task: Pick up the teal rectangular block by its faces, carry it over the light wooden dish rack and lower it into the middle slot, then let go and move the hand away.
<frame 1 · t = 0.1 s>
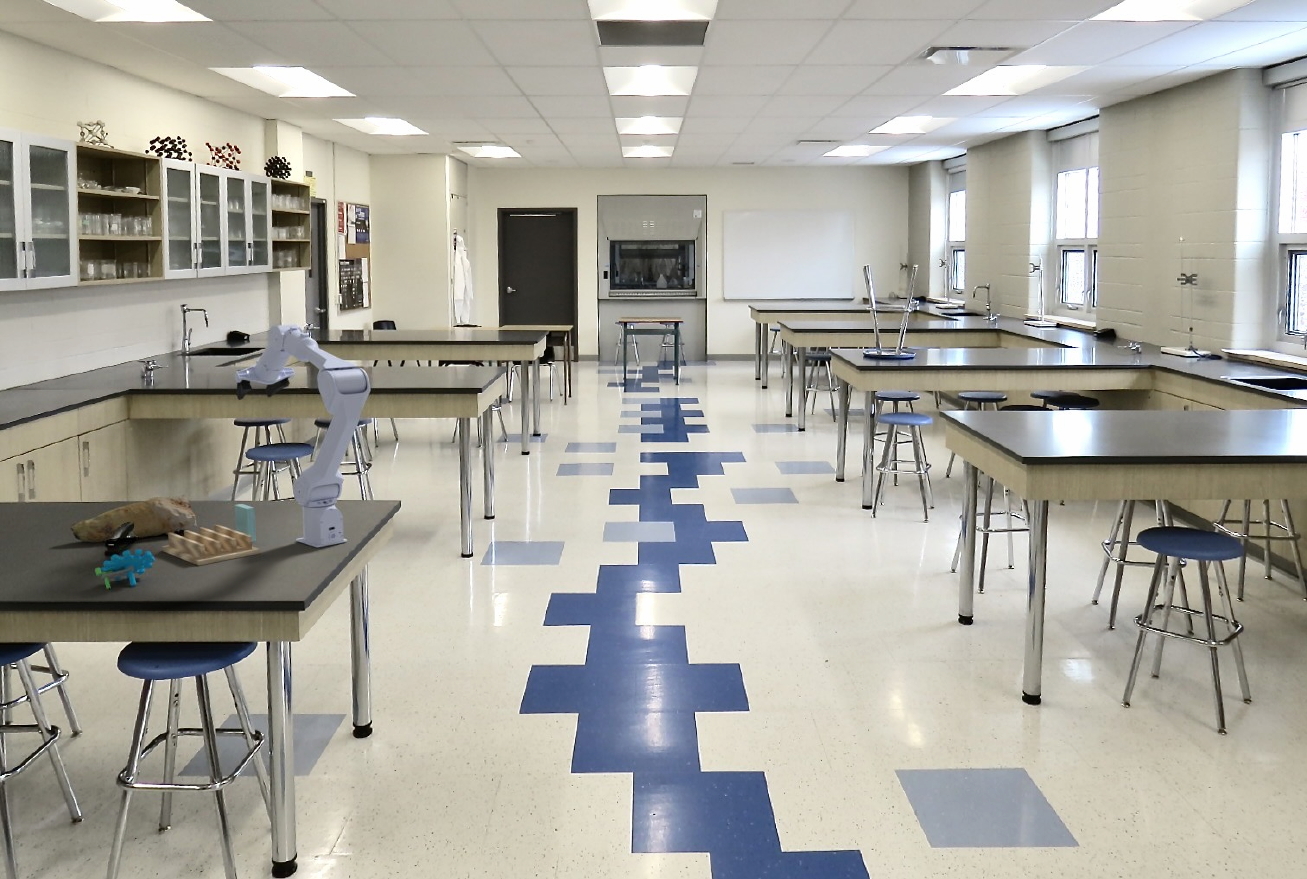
hand: (253, 395, 275), 32 cm above the table, tool tilted 50°, fingers open, 7 cm apart
toy stegosaurus: (126, 584, 227), on the table
teal rectangular block: (246, 539, 263), on the table
mineral: (134, 538, 265), on the table
rack: (210, 552, 251), on the table
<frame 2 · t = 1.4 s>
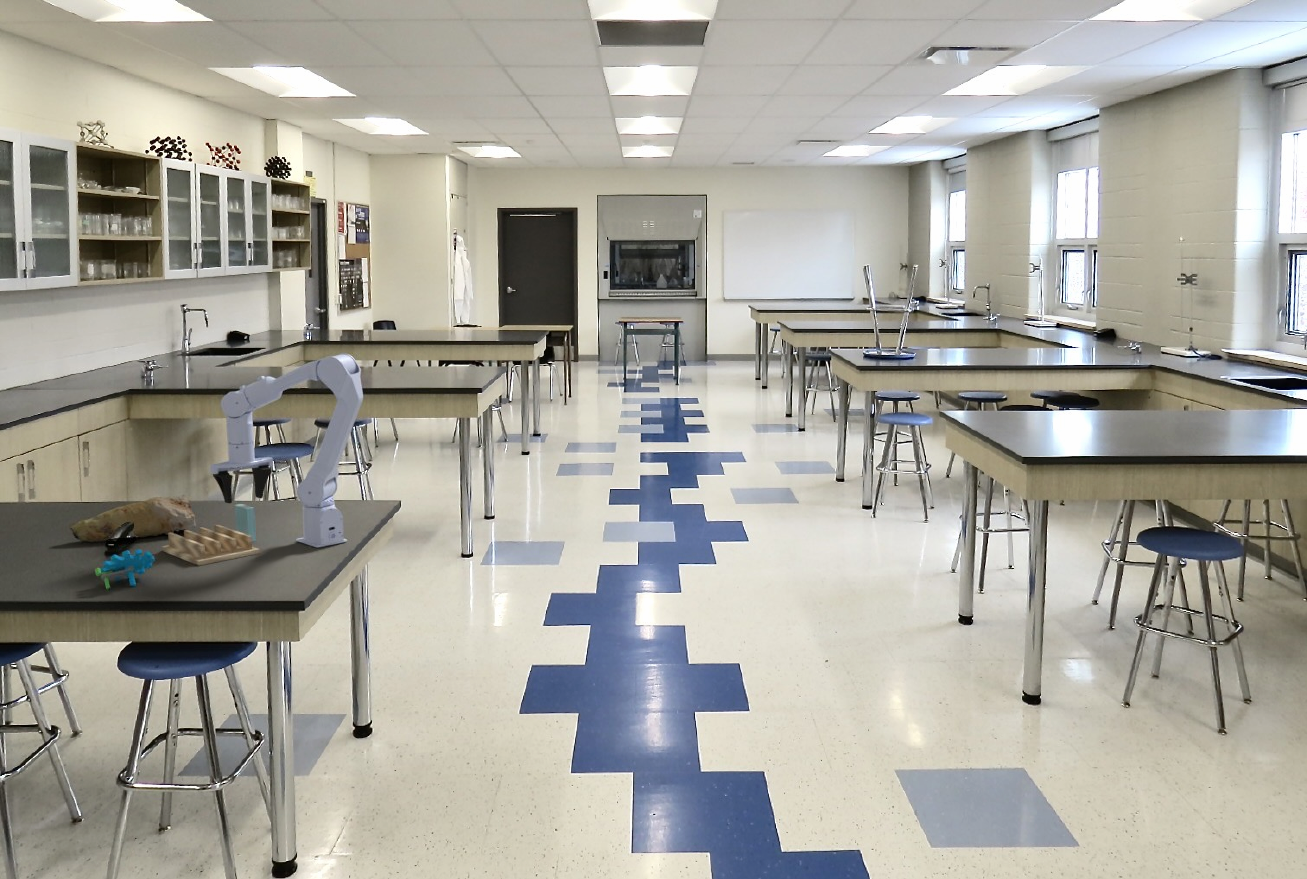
hand: (243, 500, 261), 9 cm above the table, tool pointing down, fingers open, 7 cm apart
nothing on the table moved.
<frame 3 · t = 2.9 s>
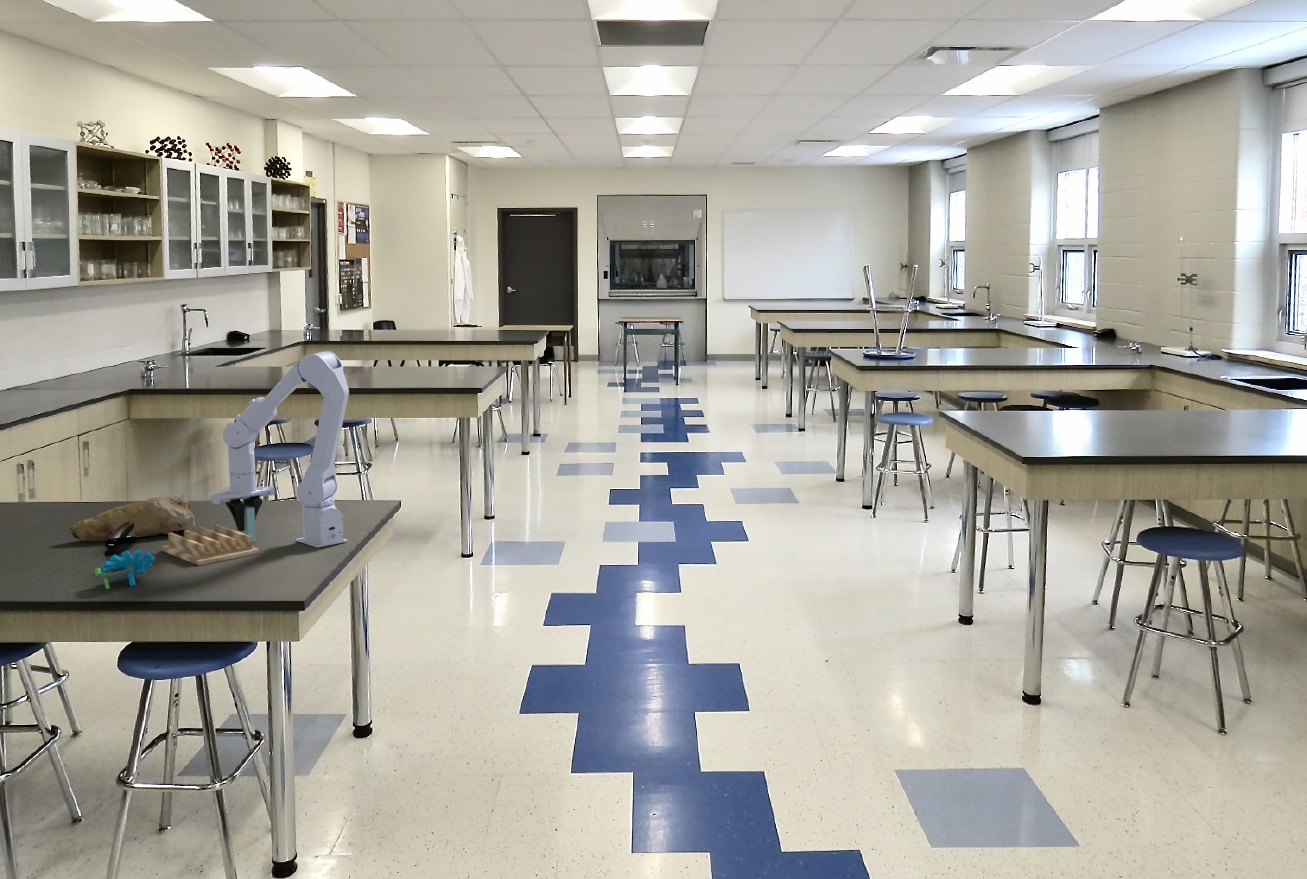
hand: (245, 529, 262), 2 cm above the table, tool pointing down, fingers closed on teal rectangular block, 2 cm apart
teal rectangular block: (246, 539, 263), on the table, touching gripper
everything else where it was.
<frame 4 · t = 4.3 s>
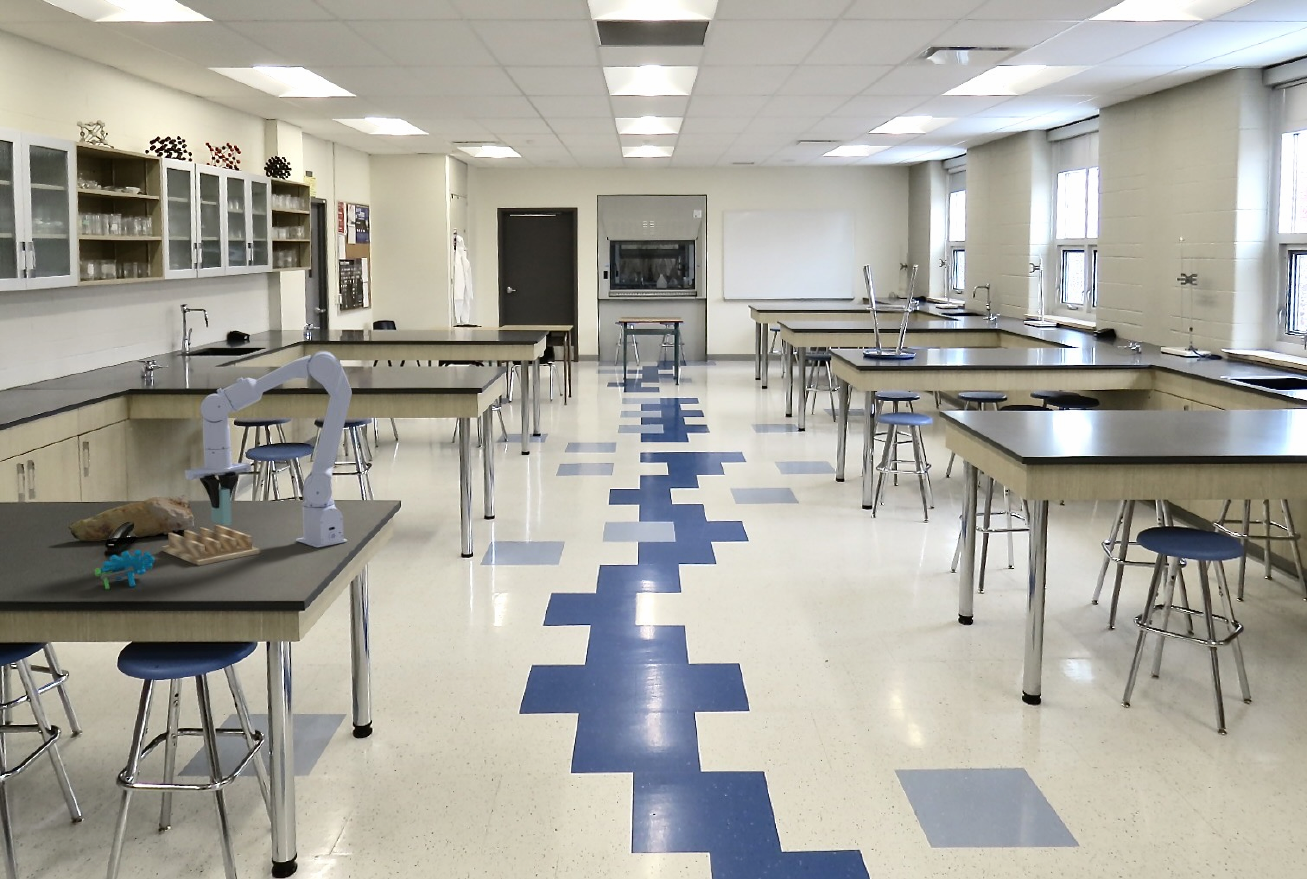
hand: (220, 506, 254), 9 cm above the table, tool pointing down, fingers closed on teal rectangular block
teal rectangular block: (221, 522, 254), point 6 cm above the table, touching gripper
everything else where it was.
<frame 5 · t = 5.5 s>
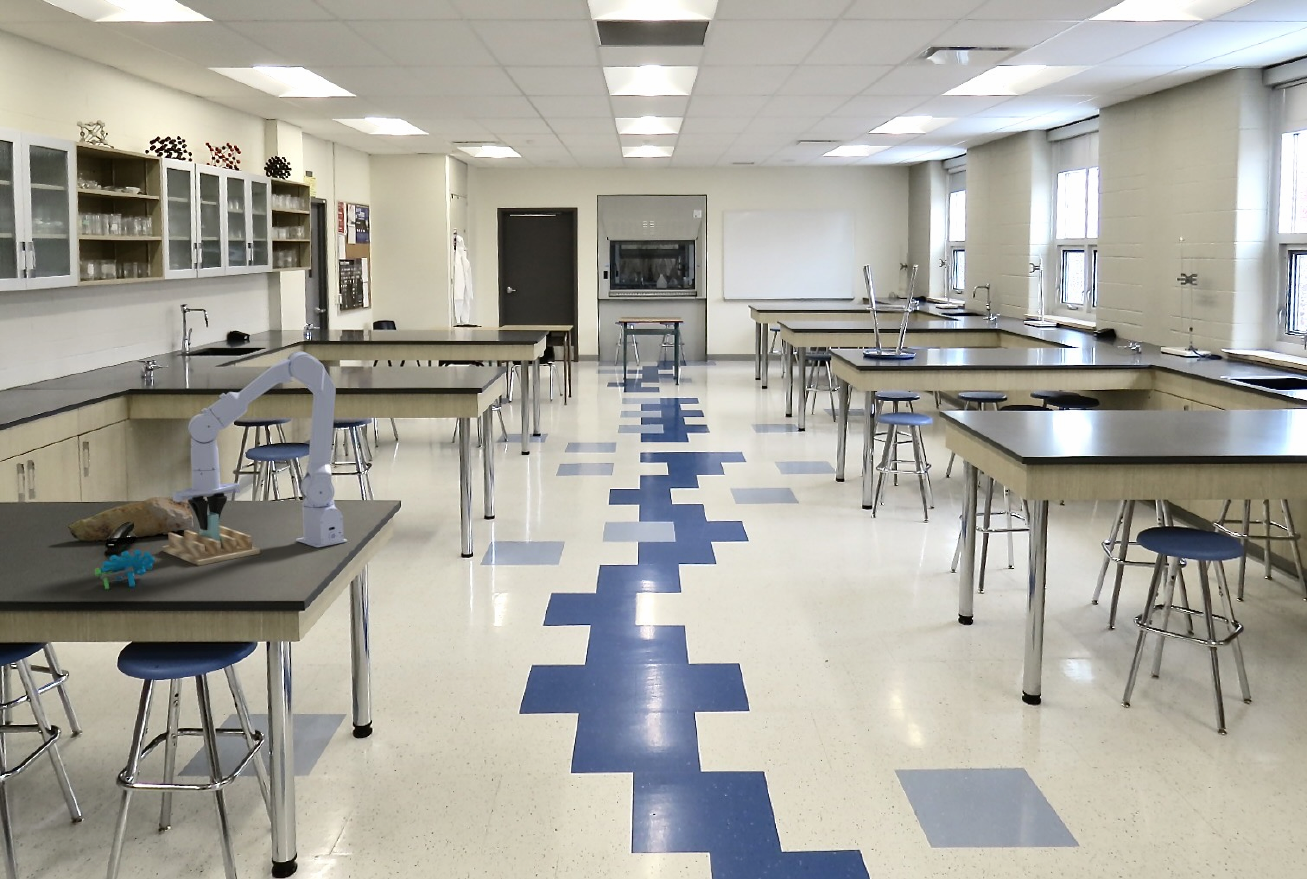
hand: (209, 528, 251), 5 cm above the table, tool pointing down, fingers closed on teal rectangular block, 2 cm apart
teal rectangular block: (210, 547, 251), point 1 cm above the table, touching gripper, rack
everything else where it was.
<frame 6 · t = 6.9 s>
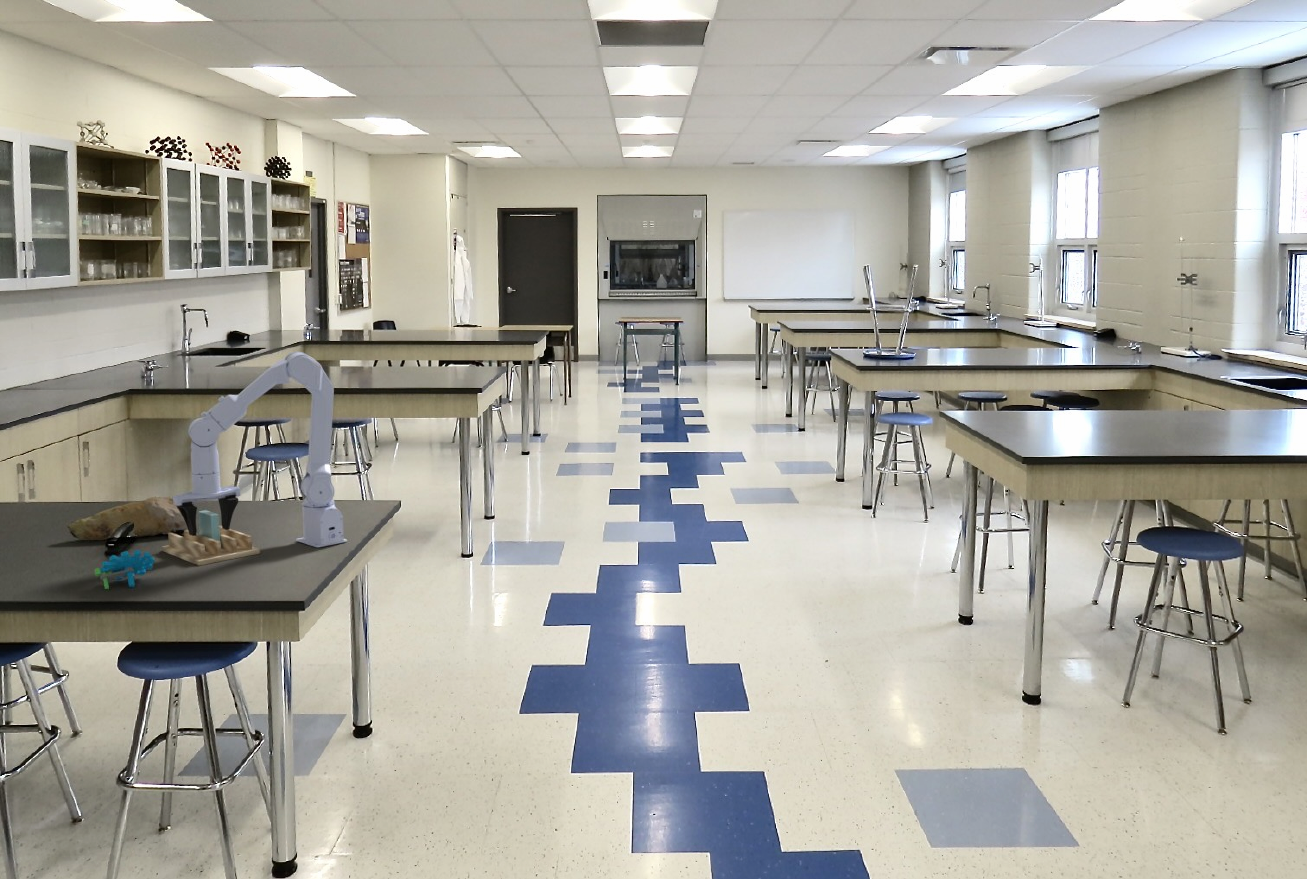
hand: (209, 532, 251), 5 cm above the table, tool pointing down, fingers open, 7 cm apart
teal rectangular block: (210, 547, 251), point 1 cm above the table, touching rack
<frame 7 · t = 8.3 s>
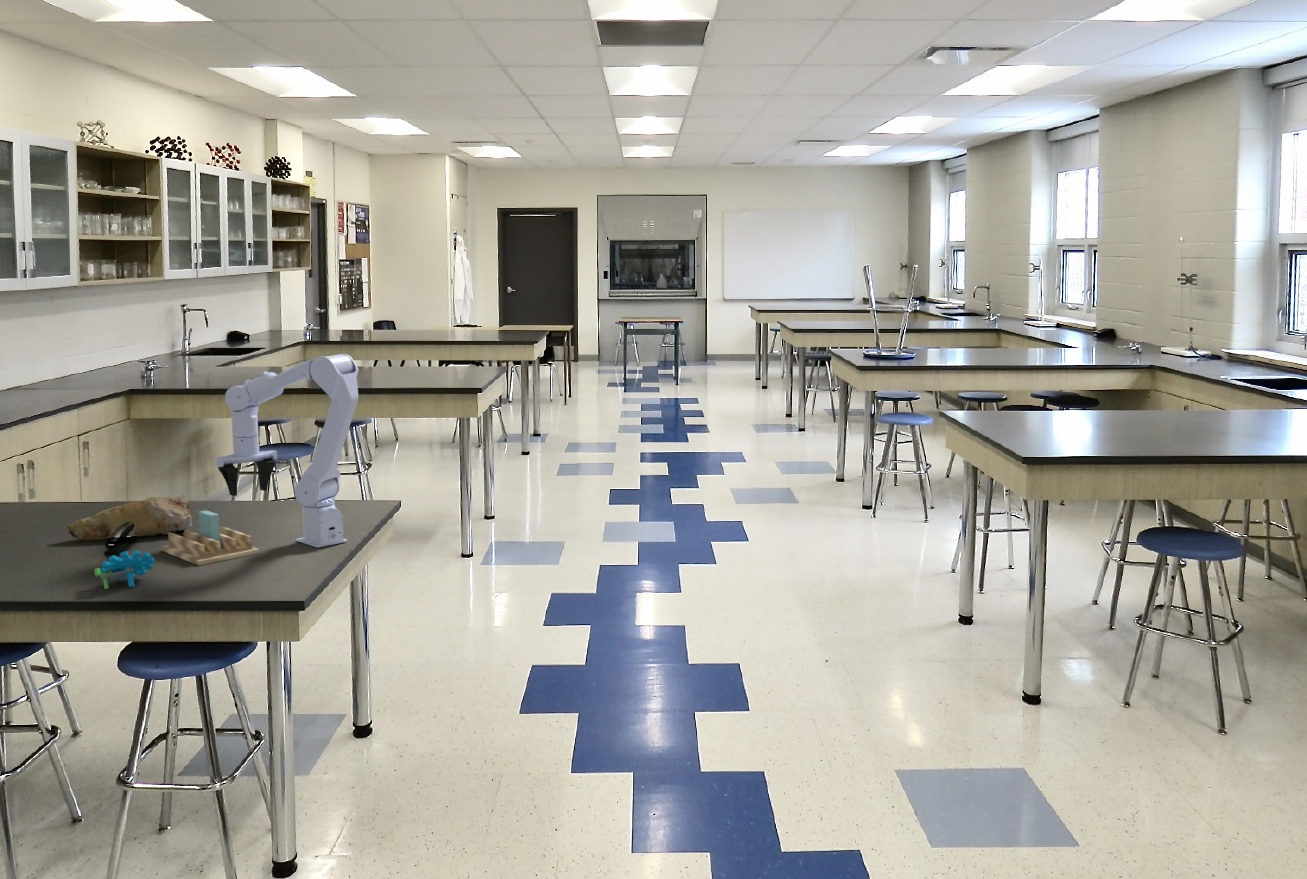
hand: (248, 492, 265), 10 cm above the table, tool pointing down, fingers open, 7 cm apart
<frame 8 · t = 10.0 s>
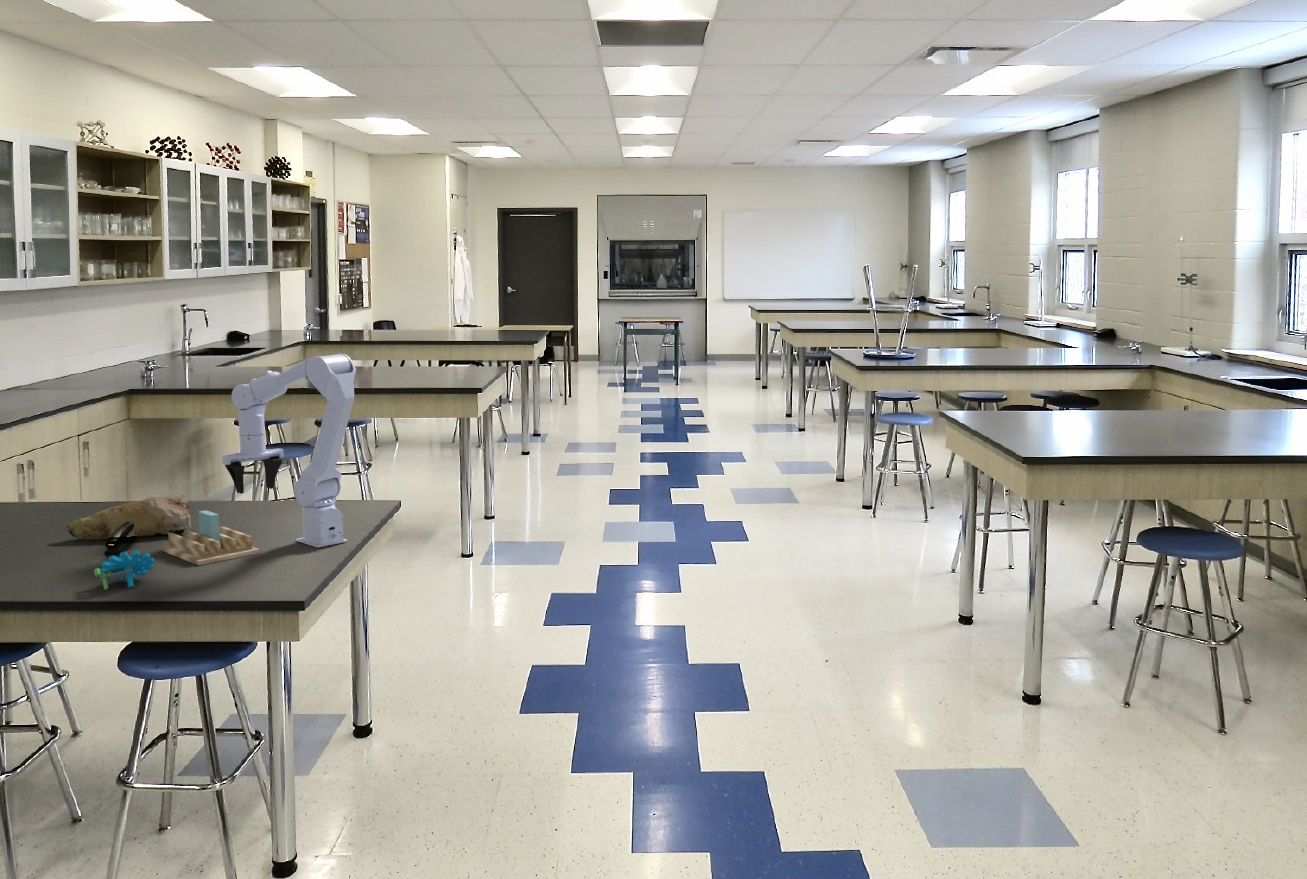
hand: (255, 490, 267), 10 cm above the table, tool pointing down, fingers open, 7 cm apart
at the end: teal rectangular block inside the target area on the rack (0.0 cm from its centre), point 1.0 cm above the rack's base; teal rectangular block tilted 0°; the gripper is holding nothing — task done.
